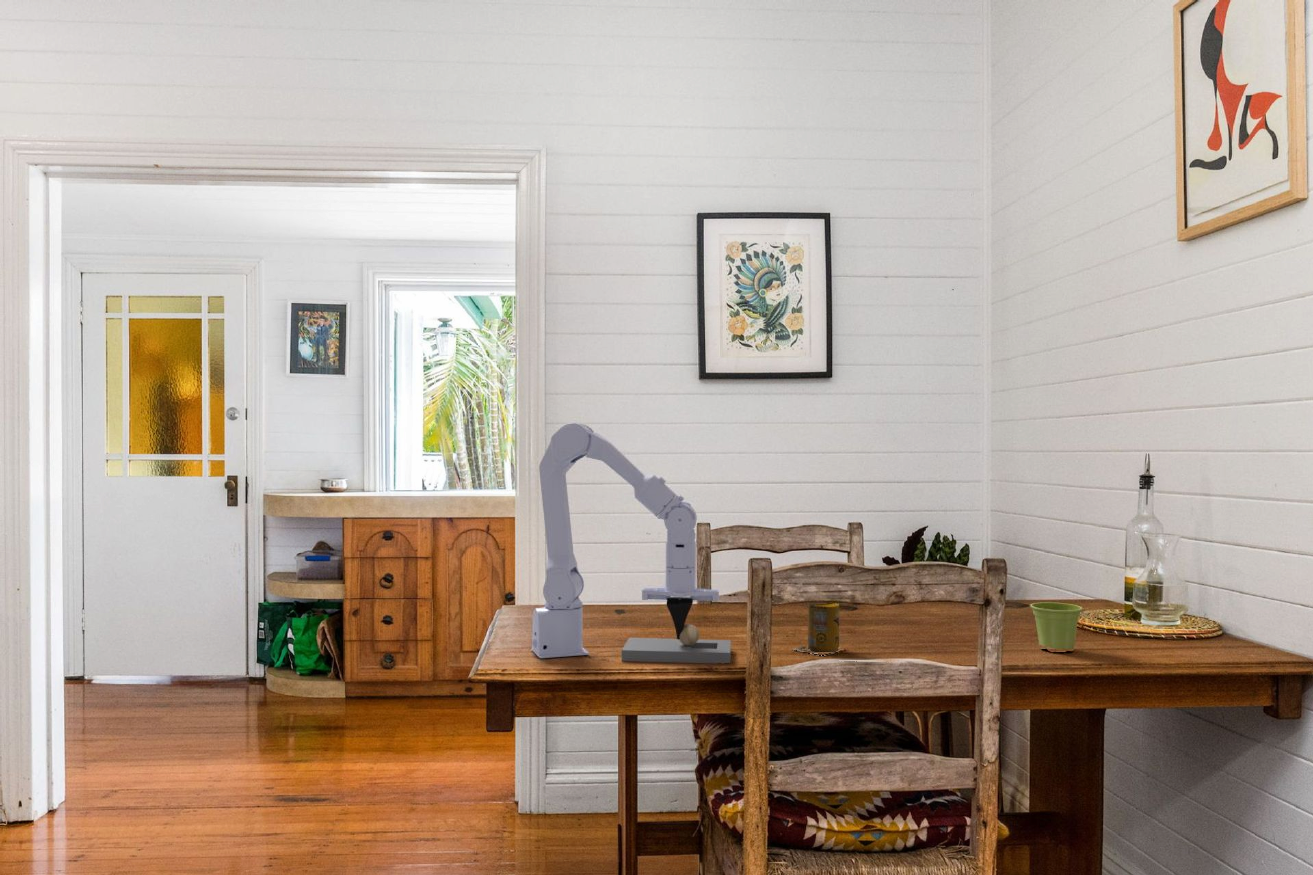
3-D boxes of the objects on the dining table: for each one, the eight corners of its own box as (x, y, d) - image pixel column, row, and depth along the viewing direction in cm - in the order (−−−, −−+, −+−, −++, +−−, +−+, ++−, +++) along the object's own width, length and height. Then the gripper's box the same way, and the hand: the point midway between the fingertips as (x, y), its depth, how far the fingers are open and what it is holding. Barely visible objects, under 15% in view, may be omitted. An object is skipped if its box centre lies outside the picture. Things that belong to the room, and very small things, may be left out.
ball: (676, 632, 168) (698, 632, 168) (678, 619, 172) (699, 620, 171) (677, 650, 170) (699, 650, 169) (679, 637, 173) (699, 637, 173)
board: (621, 660, 166) (621, 650, 166) (629, 647, 177) (629, 637, 177) (730, 663, 164) (730, 652, 164) (730, 650, 175) (730, 639, 175)
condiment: (848, 650, 176) (848, 588, 176) (822, 657, 170) (822, 593, 170) (817, 644, 181) (817, 584, 181) (791, 650, 175) (792, 589, 176)
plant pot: (1030, 653, 174) (1030, 608, 174) (1030, 643, 183) (1030, 600, 183) (1084, 657, 170) (1083, 611, 170) (1080, 647, 179) (1080, 603, 179)
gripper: (640, 568, 168) (639, 641, 167) (718, 570, 166) (717, 643, 166) (644, 563, 175) (643, 633, 174) (719, 565, 173) (718, 635, 173)
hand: (680, 638), depth 171 cm, fingers closed, pressing on ball
